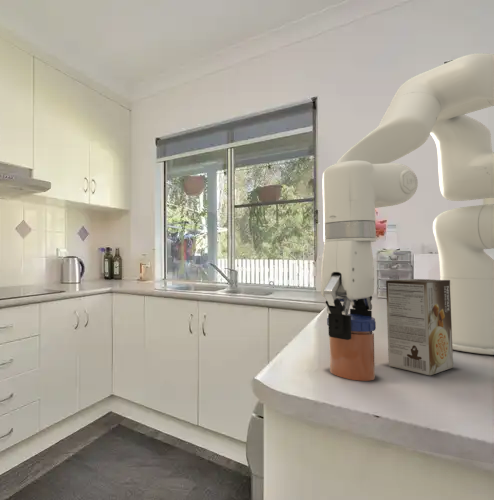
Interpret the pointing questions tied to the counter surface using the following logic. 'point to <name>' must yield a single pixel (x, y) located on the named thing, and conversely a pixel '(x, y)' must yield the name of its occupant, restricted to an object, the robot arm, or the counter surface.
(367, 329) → the lid
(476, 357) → the counter surface
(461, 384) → the counter surface
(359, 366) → the jar
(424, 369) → the coffee box
